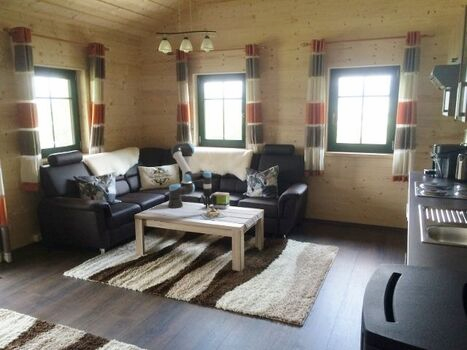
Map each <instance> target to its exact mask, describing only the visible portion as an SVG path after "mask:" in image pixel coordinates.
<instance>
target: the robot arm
mask: <svg viewBox="0 0 467 350" xmlns="http://www.w3.org/2000/svg"><path fill="white" fill-rule="evenodd" d="M194 152H195V147H194V145H193V143H191V142H183V143H182V142H181V143H175V144H174V145H173V146H172V148H171V156H172V158H173V159H175V161H176V163H177V164H178V166H179V168H180V170H181V171H182V173H181V174H182V180H181V182H180V183H178V182H177V183H172V184H170V185H169V187H168V188H169V189H168V193H169V194H168V195H169V197H168V198H169V200H168V203H167V204H168V205H167V207H168V208H169V209H179V208H183V206H184V204H183V201H182V196H187V195H189V196H190V195H192V194H193V193H195V189H196V187H195V183H193V182H199V181H202V182H203V183H202V184H203V187H202V188H203V192H202V194H201V195H200V197H201V200H202V204H203V205H204V206H205V209H206V211H207V210H209V208H210V209H211V205H213V196H214V193H212V172H211V171H206V170H205V171H198V172H192V166H191V165H192V163H191V158H192V157H193V154H195V153H194Z"/></svg>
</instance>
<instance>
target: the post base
mask: <svg viewBox="0 0 467 350" xmlns="http://www.w3.org/2000/svg"><path fill="white" fill-rule="evenodd" d="M210 209H211V211H212V212H215V210H216V208H213V207H210ZM200 216H201V217H202V216H203V217H204V218H203V217H202V218H203V219H204V220H215V219H220V218H226V217H227V216H226V215H225V214H223V212H221V211H219V217H213V218H211V217H210V216H209V215H207V213H202V214H200Z"/></svg>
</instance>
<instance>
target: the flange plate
mask: <svg viewBox="0 0 467 350" xmlns="http://www.w3.org/2000/svg"><path fill="white" fill-rule="evenodd" d="M219 212H220V211H219ZM219 212H218V211H217V210H216V209H215V212H212V211H211V207H210V208H209V210H207V209H206V214H207V215H209V216H210V217H211V218H213V217H219Z"/></svg>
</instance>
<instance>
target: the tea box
mask: <svg viewBox="0 0 467 350" xmlns="http://www.w3.org/2000/svg"><path fill="white" fill-rule="evenodd" d="M213 194H214V196H213V200H212V208H215V209H221V210H222V209H224V210H227V209H228V208H230V193H229V192H220V191H216V192H214V193H213Z"/></svg>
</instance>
